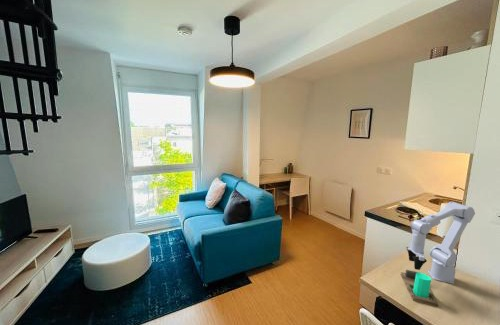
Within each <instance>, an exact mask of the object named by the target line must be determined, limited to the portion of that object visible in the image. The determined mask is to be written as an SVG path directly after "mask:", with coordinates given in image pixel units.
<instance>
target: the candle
mask: <svg viewBox="0 0 500 325" xmlns="http://www.w3.org/2000/svg"><path fill="white" fill-rule="evenodd" d="M416 272H417V273H416V277H415V283H414V288H412V292H413V294H414V295H415V296H419V297H423V298H427V299H429V290H430V291H431V284H432V277H430V276H429V275H427V274H425V273H423V272H419V273H418V271H416Z"/></svg>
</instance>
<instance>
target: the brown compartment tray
mask: <svg viewBox="0 0 500 325" xmlns="http://www.w3.org/2000/svg"><path fill="white" fill-rule="evenodd" d="M417 272H418V271H414V270H409V269H405V272H403V271H402V272H400V276H401V278H402V281H403V283H404V285H405V287H406V289H407V291H408V294H409V295H410V297H411V299H412V301H413V302H418V303H422V304H426V305H430V306H432V307H433V306H434V307H437V308H438V307H439V302H438V300H437V299H436V298H435V295H434V294H433V293H432V291H431V289H430V290H429V295H428V297H430V298H423V297H419V296H416V295H415V294H414V293H413V289H414V283H415V277H416V273H417ZM418 273H420V271H419V272H418Z"/></svg>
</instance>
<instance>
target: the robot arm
mask: <svg viewBox="0 0 500 325" xmlns="http://www.w3.org/2000/svg"><path fill="white" fill-rule="evenodd" d="M475 214H476V212H475V209H474V208H473V207H472V206H467V205H465V204H461V203H458V202H456V201H449V202H448V203H446V204H445V207H444V208H443V209H441V210H440V211H438V212H436V213H435V214H433V213H430V214H428V215H426V216H424V217H423V218H420V219H414V220H412V221H411V223H410V228H411V232H412V234H411V240H410V242H409V243H408V246H406V248H405V249H406V250H407V253H408V261H410V262H414V263H413V265H414V266H413V268H414V270H417V271H418V270H419V271H420V270H421V269H422V267H423V265H424V264H425V263H427V259H426V257H425V244H426V238H427V235H428V234H429V233H430V231H431V230H432V229H433V228H434V227H436V226H438V225H440V224H441V221H442V220H444V219H447V218H449V217H452V218H453V221H452V224H451V225H450V227H449V229H448V230H447V232H446V235H445V236H444V237H443V238H444V239H443V240H442V242H441V243H439V244H434V246H433V247H432V248H431V249H430V250H429V255H430V256H429V257H431V260H432V261H431V268H430V269H427V272H428V274H429V275H430V276H431V279H433V280H435V281H440V282H445V283H449V284H455V282H454V281H455V276H456V268H455V266H454V265H456V260H457V257H458V256H457V254H456V252H455V250H454V249H455V247H456V245H457V243H458V241H459V240H460V239H461V237H462V235H463V233H464V231H465V229H466V227H467V225H468V224H469V223H471V222H472V221H473V219H474V217H475Z"/></svg>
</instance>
